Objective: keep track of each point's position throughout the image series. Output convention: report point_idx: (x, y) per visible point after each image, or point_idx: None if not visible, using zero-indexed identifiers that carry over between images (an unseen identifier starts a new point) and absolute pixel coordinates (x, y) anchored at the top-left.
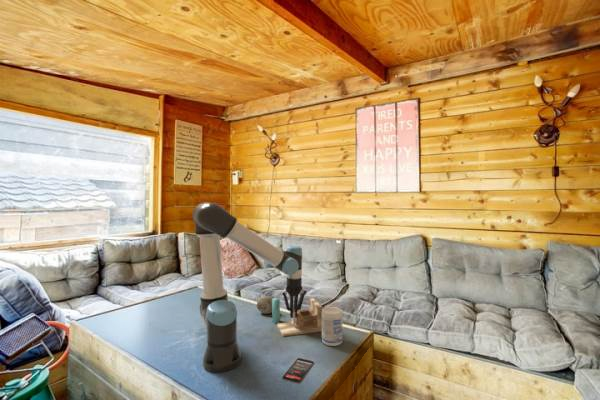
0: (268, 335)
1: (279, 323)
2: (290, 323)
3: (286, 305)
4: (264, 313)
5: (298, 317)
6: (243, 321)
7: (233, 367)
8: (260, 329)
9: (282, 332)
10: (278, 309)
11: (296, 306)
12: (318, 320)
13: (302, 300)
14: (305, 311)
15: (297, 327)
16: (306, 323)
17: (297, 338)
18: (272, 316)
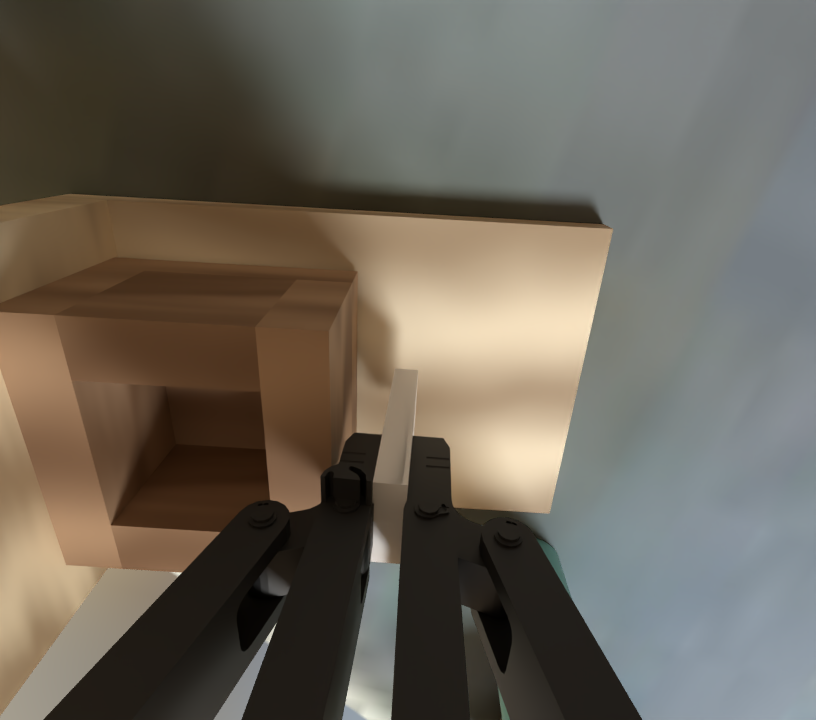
0: (743, 318)
1: (525, 503)
2: None
3: (583, 637)
4: None
5: (334, 388)
6: (797, 654)
7: None
8: (744, 474)
9: (591, 286)
10: None
11: (322, 567)
12: (5, 218)
13: (85, 694)
14: (170, 523)
15: (363, 347)
16: (237, 286)
17: (446, 100)
18: None
